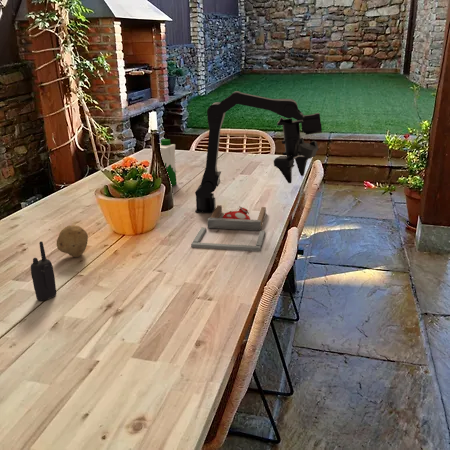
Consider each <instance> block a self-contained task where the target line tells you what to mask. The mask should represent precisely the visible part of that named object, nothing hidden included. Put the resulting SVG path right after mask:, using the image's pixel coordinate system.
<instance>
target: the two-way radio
mask: <svg viewBox="0 0 450 450" xmlns="http://www.w3.org/2000/svg"><path fill="white" fill-rule="evenodd" d="M44 247H45V246H44V243H43V241H39V251H40V257H41V259H40V260H39V259H38V258H37V257H33V258H32V263H31V264H30V273H31V274H30V275H31V280H32V285H33V289H34V293H35V297H36V299H37V301H38V302H39V301H40V302H43V301H47V300H49V299H51V298H53V297H55V296H56V295H57V287H56V280H55V279H56V278H55V272H54V271H55V270H54V266H53V264H52V262H51V260H49V258H47V257H46V251H45V248H44Z"/></svg>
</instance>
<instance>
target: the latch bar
mask: <svg viewBox="0 0 450 450" xmlns="http://www.w3.org/2000/svg"><path fill="white" fill-rule="evenodd" d="M207 228H208V229H219V230H220V229H221V230H223V229H224V230H239V231H240V230H243V231H244V230H245V231H259V232H260V230H262V227H261V220H257V219H250V220H248V219H227V218H223V217H219V218H210V217H208V218H207Z"/></svg>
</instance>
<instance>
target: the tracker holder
mask: <svg viewBox="0 0 450 450" xmlns="http://www.w3.org/2000/svg"><path fill="white" fill-rule="evenodd" d="M248 214H250V212H249V210H248V209H247V208H245V207H242V206H239V209H238V210H235V211H233V210H232V211H227V212H225V213H224V214H223V216H222V218H227V219H248V220H251V218H250V216H249V215H248Z"/></svg>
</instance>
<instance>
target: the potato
mask: <svg viewBox="0 0 450 450" xmlns="http://www.w3.org/2000/svg"><path fill="white" fill-rule="evenodd" d="M88 241H89V235H88V233H87V231H86V230H85V229H84V228H83V227H81V226H80V225H72V224H71V225H67V226H65V227H64V228H63V229H61V230H60V231H59V235H58V236H57V239H56V248H57V249H58V251H59V252H61V253H65V254H67V255H69V256H70V257H73V258H79V257H80V256H82V255H83V254H84V253H85V250H86V249H87V246H88Z"/></svg>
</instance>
